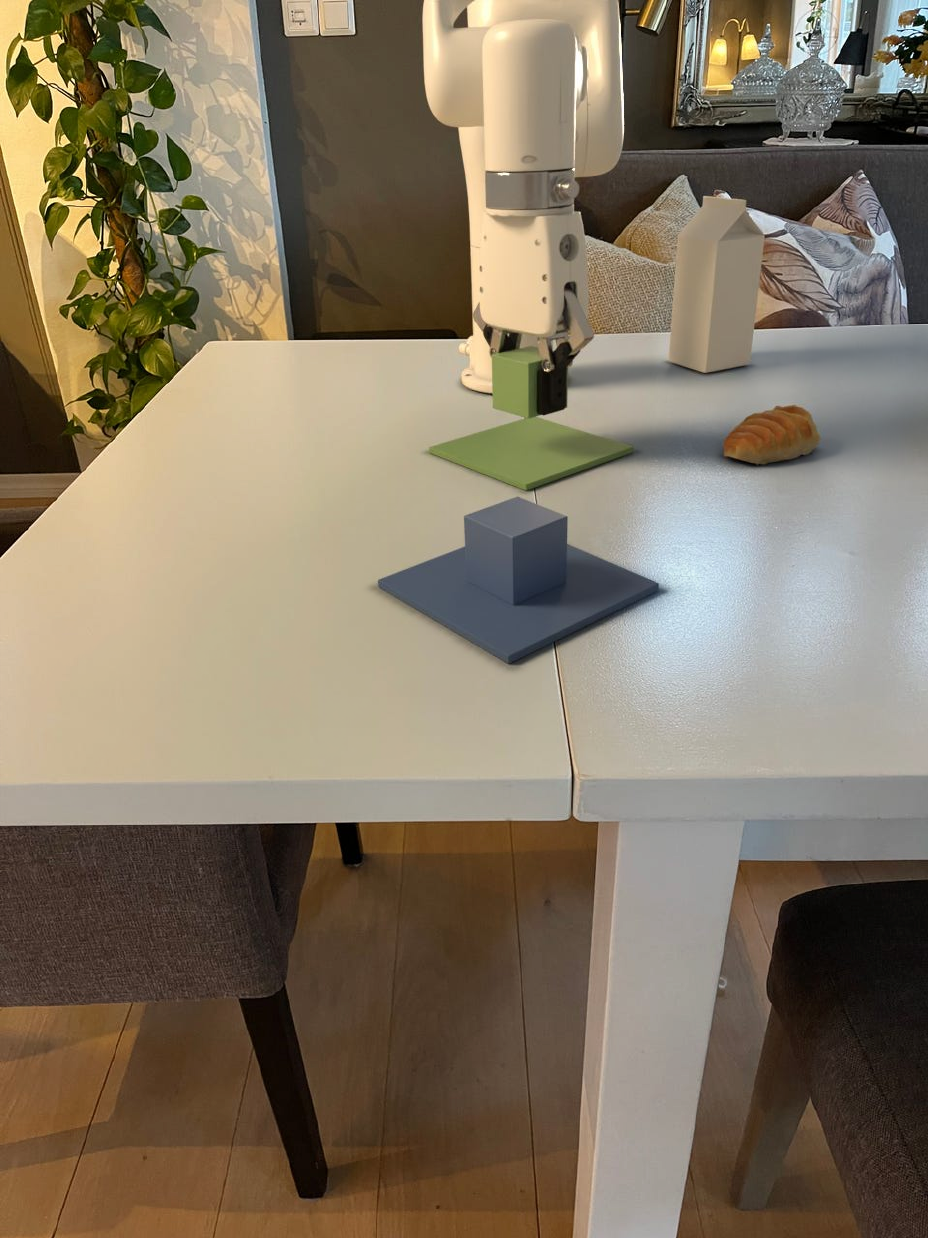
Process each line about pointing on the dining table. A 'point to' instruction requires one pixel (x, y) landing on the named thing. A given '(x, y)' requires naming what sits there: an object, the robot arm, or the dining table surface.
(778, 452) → the pastry
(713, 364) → the milk carton
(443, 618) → the blue mat
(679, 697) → the dining table surface
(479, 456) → the green mat
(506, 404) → the green block
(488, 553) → the blue block
